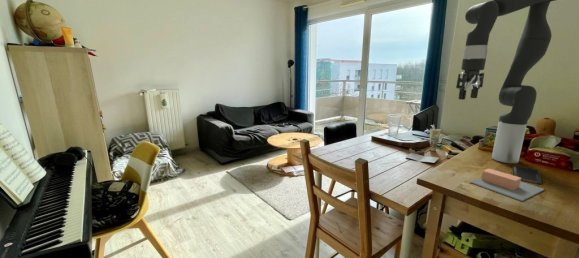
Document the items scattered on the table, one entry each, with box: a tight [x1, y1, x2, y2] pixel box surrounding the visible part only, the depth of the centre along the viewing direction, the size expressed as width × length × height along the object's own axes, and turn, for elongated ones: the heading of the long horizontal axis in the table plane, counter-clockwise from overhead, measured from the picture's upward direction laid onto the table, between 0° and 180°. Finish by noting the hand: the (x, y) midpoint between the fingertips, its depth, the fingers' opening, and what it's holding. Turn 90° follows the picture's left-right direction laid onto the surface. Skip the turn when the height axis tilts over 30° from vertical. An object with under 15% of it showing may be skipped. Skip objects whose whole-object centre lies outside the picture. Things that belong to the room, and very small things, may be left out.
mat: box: [469, 176, 546, 202], centre depth 88 cm, size 16×15×1 cm
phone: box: [512, 165, 542, 185], centre depth 96 cm, size 8×1×15 cm
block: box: [480, 168, 522, 190], centre depth 89 cm, size 4×4×10 cm
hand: (467, 98), depth 103 cm, fingers open, 8 cm apart
